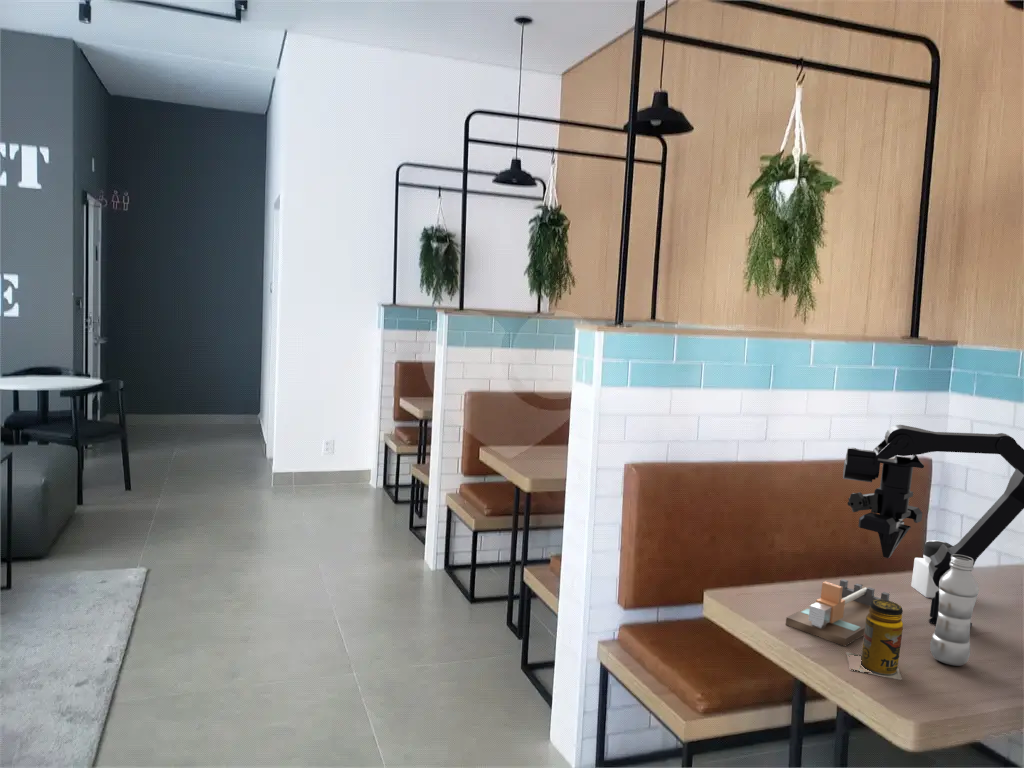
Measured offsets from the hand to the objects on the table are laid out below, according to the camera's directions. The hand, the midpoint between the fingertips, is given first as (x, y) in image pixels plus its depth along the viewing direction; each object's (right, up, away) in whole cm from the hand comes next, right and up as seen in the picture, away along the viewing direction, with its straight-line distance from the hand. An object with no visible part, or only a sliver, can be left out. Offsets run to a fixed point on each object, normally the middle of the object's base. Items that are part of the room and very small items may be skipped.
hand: (886, 557), depth 168 cm
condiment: (-14, -14, -25) cm, 32 cm away
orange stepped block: (-16, -10, -9) cm, 21 cm away
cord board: (-12, -12, -5) cm, 18 cm away
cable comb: (-4, -10, +2) cm, 11 cm away
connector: (-19, -11, -12) cm, 25 cm away
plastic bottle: (+1, -15, -21) cm, 26 cm away
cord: (-11, -9, -4) cm, 14 cm away
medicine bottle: (+18, -12, +15) cm, 26 cm away
